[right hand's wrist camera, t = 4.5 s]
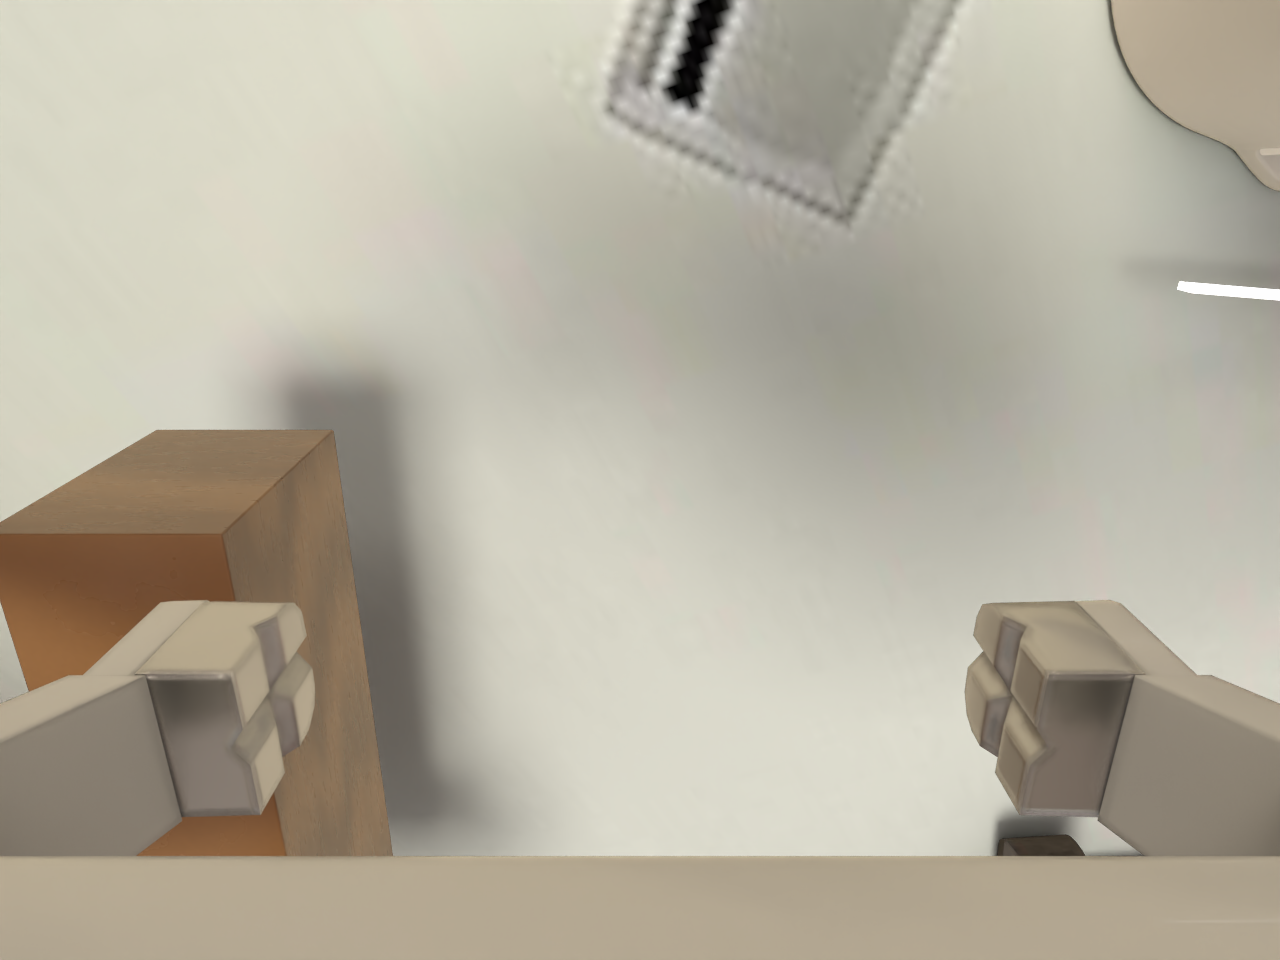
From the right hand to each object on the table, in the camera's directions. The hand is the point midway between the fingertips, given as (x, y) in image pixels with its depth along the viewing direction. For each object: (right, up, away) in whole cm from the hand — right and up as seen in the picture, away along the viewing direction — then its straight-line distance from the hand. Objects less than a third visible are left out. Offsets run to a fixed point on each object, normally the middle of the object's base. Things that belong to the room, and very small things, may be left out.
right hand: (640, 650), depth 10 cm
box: (-14, -9, +26) cm, 31 cm away
